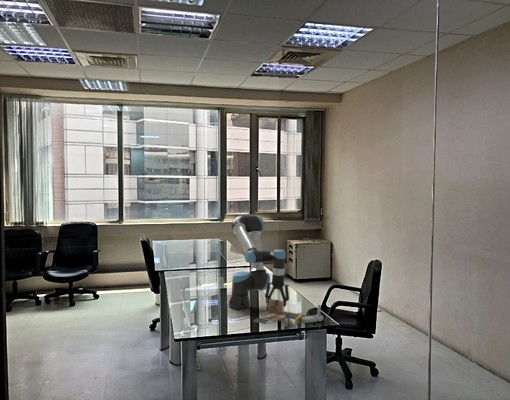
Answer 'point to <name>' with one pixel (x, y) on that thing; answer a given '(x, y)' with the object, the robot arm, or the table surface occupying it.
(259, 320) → the mat
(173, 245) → the table surface
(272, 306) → the clip block
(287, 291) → the robot arm
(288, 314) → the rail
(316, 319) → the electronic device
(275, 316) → the deck
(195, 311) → the table surface
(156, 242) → the table surface
